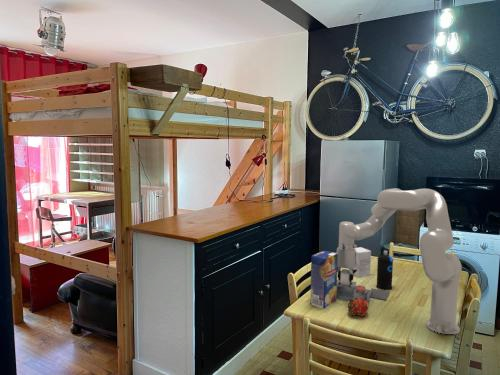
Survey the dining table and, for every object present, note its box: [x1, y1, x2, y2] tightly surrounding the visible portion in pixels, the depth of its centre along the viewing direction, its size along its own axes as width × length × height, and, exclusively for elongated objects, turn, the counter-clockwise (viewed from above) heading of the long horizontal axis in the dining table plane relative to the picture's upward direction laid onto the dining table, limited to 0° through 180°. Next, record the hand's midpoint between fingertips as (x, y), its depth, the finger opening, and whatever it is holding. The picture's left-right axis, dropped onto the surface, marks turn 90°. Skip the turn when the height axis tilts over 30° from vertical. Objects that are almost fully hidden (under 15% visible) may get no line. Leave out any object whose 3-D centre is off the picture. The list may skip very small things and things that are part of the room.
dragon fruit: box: [347, 298, 369, 317], centre depth 168 cm, size 8×8×12 cm
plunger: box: [356, 285, 367, 293], centre depth 182 cm, size 5×5×4 cm
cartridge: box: [340, 268, 350, 287], centre depth 192 cm, size 5×5×10 cm
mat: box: [370, 288, 391, 302], centre depth 190 cm, size 12×9×1 cm
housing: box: [336, 279, 373, 304], centre depth 189 cm, size 15×18×5 cm
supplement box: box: [348, 246, 372, 278], centre depth 220 cm, size 9×9×15 cm
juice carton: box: [310, 250, 338, 310], centre depth 180 cm, size 12×8×24 cm, turn 139°
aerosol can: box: [375, 250, 394, 291], centre depth 199 cm, size 8×8×20 cm
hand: (345, 280), depth 192 cm, fingers closed on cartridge, 5 cm apart
